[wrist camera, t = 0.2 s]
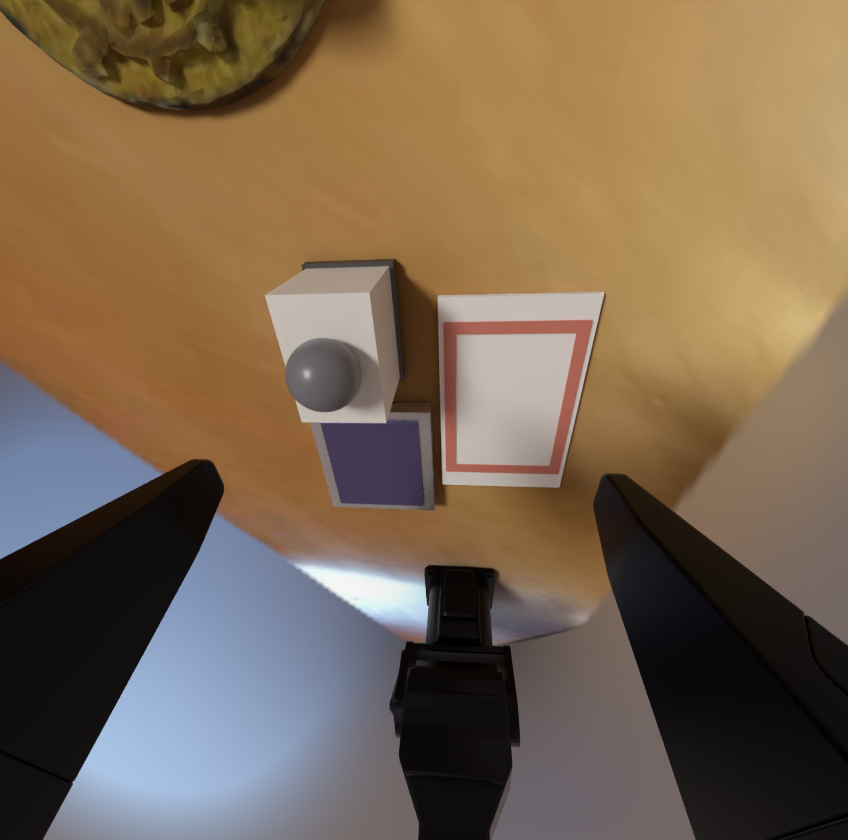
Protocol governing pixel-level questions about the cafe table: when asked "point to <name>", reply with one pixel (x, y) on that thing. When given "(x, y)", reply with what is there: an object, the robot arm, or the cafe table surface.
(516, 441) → the sheet
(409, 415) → the ink pad
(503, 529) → the cafe table surface
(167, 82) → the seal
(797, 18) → the cafe table surface
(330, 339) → the stamp
